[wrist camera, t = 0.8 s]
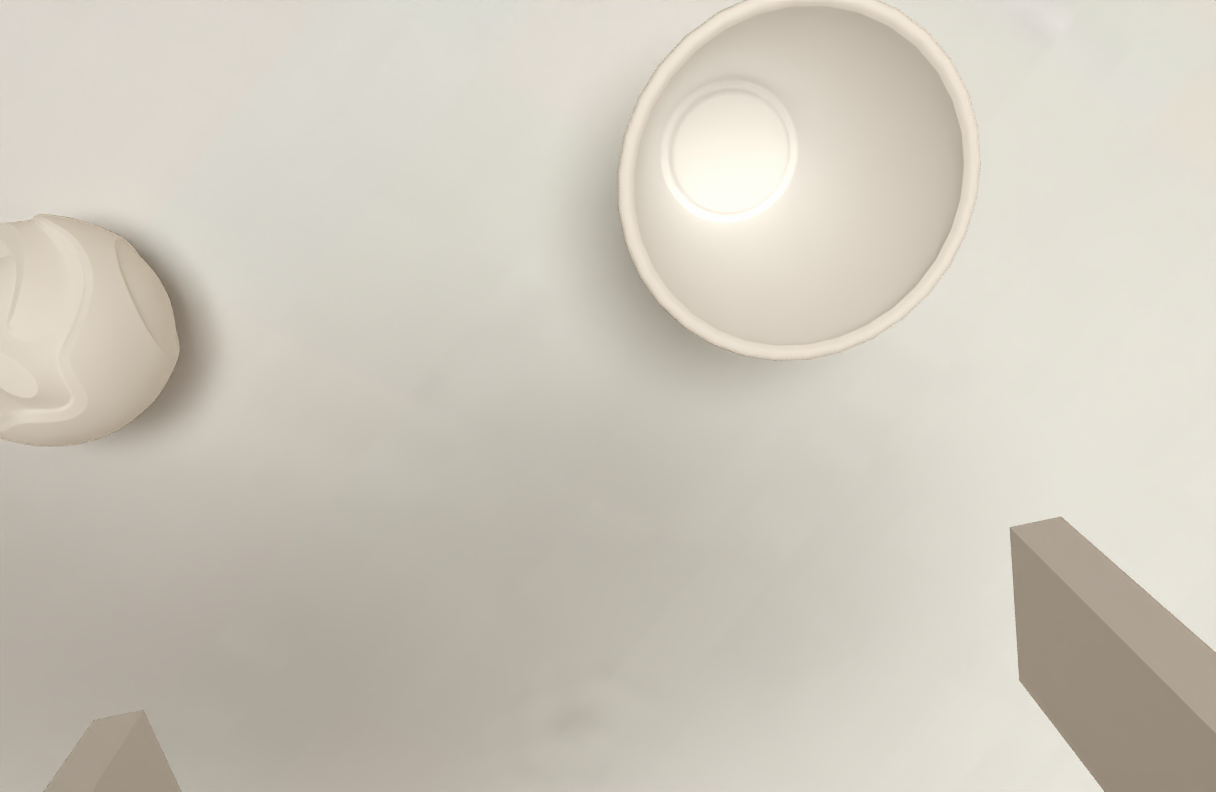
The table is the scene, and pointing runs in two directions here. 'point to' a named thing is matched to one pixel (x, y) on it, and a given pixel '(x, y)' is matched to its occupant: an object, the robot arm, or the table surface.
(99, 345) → the beige round lump
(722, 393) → the table surface
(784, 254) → the cup
